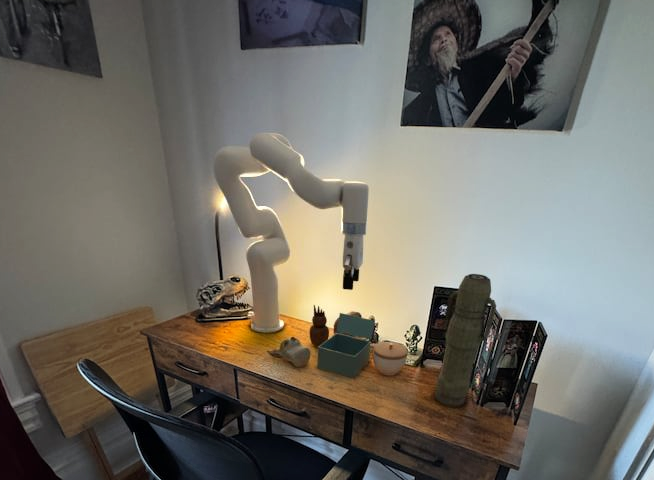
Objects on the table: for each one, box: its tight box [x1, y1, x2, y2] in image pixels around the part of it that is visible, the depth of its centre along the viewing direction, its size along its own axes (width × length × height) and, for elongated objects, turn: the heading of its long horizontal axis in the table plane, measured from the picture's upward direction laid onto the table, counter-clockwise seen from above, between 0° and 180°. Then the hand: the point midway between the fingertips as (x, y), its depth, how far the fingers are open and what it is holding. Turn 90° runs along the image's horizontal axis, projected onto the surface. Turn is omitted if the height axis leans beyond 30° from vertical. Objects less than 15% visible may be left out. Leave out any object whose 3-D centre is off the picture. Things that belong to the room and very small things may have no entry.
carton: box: [317, 333, 372, 379], centre depth 121 cm, size 13×13×7 cm
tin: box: [333, 311, 363, 337], centre depth 141 cm, size 15×3×8 cm, turn 143°
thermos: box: [434, 273, 497, 407], centre depth 100 cm, size 9×12×35 cm
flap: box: [337, 312, 376, 341], centre depth 123 cm, size 12×6×1 cm
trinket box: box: [372, 341, 409, 376], centre depth 119 cm, size 11×11×9 cm
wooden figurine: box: [309, 304, 330, 348], centre depth 131 cm, size 7×6×15 cm
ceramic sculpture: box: [266, 336, 312, 368], centre depth 122 cm, size 11×9×15 cm
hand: (350, 284), depth 122 cm, fingers open, 9 cm apart
